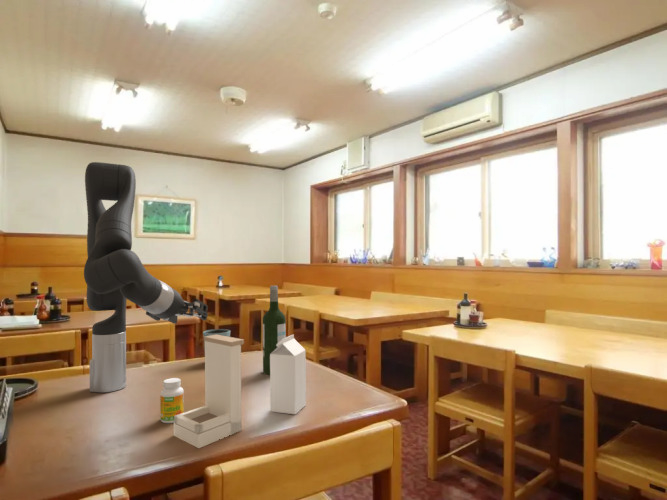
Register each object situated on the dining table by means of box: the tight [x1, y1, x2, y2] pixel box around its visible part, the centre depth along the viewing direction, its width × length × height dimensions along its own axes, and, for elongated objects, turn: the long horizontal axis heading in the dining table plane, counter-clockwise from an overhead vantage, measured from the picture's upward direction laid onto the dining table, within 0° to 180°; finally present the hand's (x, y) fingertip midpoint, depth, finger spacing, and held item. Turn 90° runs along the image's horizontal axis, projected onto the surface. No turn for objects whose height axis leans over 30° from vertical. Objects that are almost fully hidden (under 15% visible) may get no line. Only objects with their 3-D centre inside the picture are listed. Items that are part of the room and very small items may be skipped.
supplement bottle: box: [159, 377, 185, 424], centre depth 103 cm, size 5×5×10 cm
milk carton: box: [269, 333, 307, 415], centre depth 109 cm, size 7×7×19 cm
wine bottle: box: [262, 285, 287, 376], centre depth 144 cm, size 8×8×30 cm
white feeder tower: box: [173, 334, 245, 449], centre depth 95 cm, size 12×11×21 cm
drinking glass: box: [202, 328, 231, 351], centre depth 158 cm, size 10×10×12 cm
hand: (190, 318), depth 112 cm, fingers open, 8 cm apart
